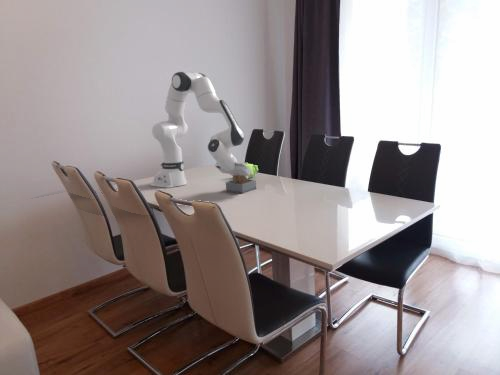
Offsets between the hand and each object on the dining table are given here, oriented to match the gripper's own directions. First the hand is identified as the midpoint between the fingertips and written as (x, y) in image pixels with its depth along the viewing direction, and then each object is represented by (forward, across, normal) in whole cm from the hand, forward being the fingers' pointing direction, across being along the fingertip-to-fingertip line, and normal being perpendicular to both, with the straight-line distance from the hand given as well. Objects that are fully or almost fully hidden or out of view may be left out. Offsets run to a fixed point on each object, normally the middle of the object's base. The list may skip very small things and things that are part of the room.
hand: (241, 176), depth 230 cm
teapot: (+24, +17, -13) cm, 32 cm away
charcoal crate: (+5, 0, +6) cm, 7 cm away
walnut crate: (+4, 0, +5) cm, 7 cm away
